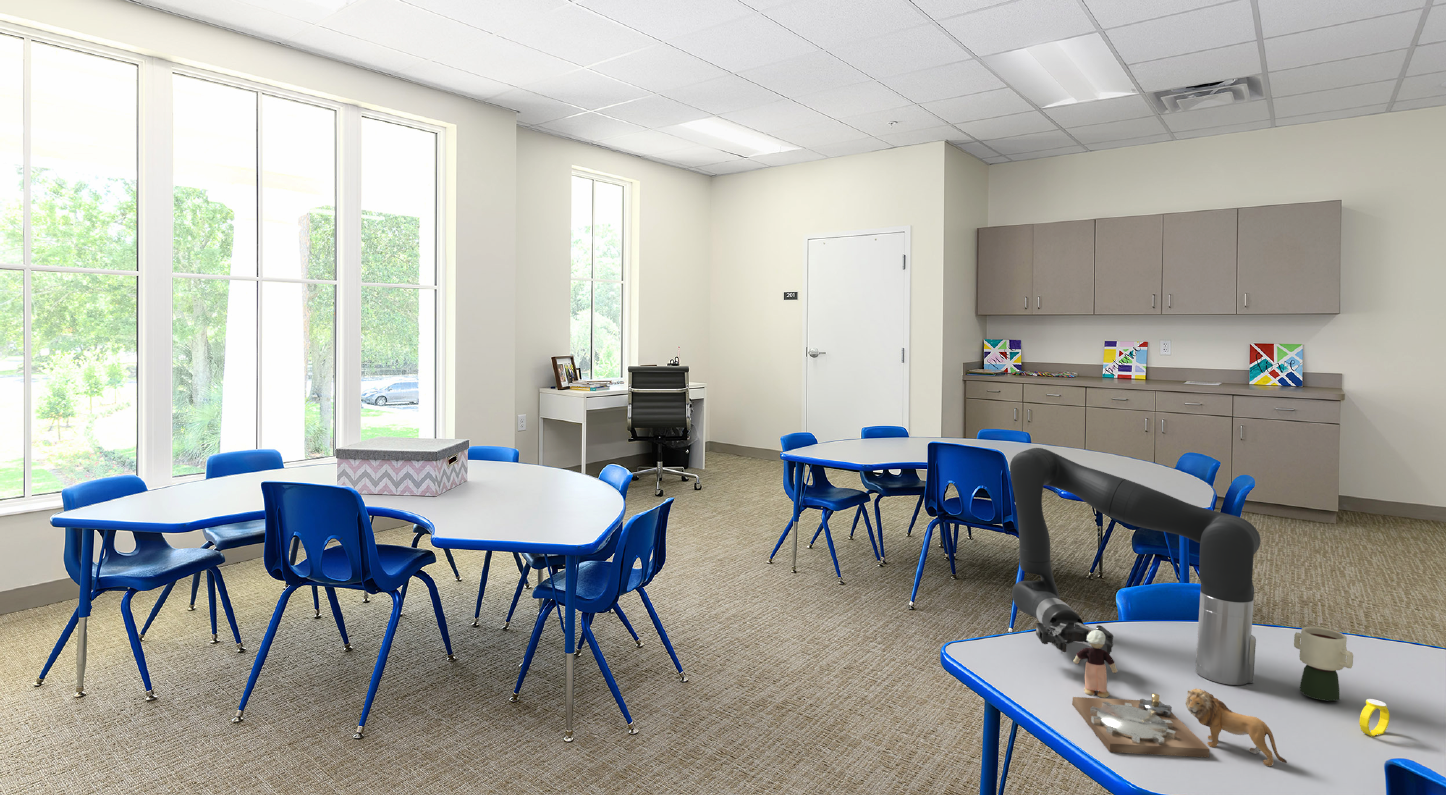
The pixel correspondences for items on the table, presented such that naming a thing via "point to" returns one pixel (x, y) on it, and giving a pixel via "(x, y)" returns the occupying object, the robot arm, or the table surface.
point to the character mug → (1322, 661)
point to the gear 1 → (1132, 723)
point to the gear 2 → (1156, 706)
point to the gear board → (1180, 746)
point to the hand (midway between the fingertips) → (1086, 648)
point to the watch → (1367, 714)
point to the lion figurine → (1230, 723)
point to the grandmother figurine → (1096, 664)
